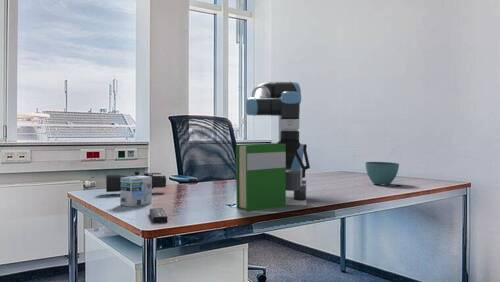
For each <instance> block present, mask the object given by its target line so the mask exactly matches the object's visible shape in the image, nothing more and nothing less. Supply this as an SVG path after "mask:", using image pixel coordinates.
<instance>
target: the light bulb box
mask: <svg viewBox="0 0 500 282" xmlns="http://www.w3.org/2000/svg"><path fill="white" fill-rule="evenodd" d="M141 175H142V174H141ZM141 175H140V174H139V176H135V175H133V176H132V175H131V176H132V177H131V176H129V177H122V178H121V186H120V191H119V192H120V195H119V197H120V202H119V203H120V206H126V207H130V208H132V207H137V206H138V207H139V206H144V205H149V204H152V195H153V193H152V192H153V191H152V190H153V189H152V177H149V176H141Z"/></svg>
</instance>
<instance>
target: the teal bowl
mask: <svg viewBox="0 0 500 282" xmlns="http://www.w3.org/2000/svg"><path fill="white" fill-rule="evenodd" d="M364 164H365V170H366V173H367V175H368V177H369V179H370V181H371V182H372V183H374V184H373V185H375V184H385V185H384V186H388V185H387V184H389V185H391V183H393V182H394V181H395V179H396V177H397V174H398V171H399V167H400V164H399V163H398V162H397V163H396V162H390V161H389V162H387V161H366V162H365V163H364Z"/></svg>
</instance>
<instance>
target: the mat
mask: <svg viewBox="0 0 500 282" xmlns="http://www.w3.org/2000/svg"><path fill="white" fill-rule="evenodd" d="M287 205H288V206H289V205H290V206H291V205H292V206H293V205H294V206H307V199H306V200H303V201H299V200H294V197H286V206H287Z"/></svg>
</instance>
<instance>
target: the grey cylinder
mask: <svg viewBox="0 0 500 282" xmlns="http://www.w3.org/2000/svg"><path fill="white" fill-rule="evenodd" d="M296 190H300V170H292V169H286V192H288V191H290V192H294V191H296Z"/></svg>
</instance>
